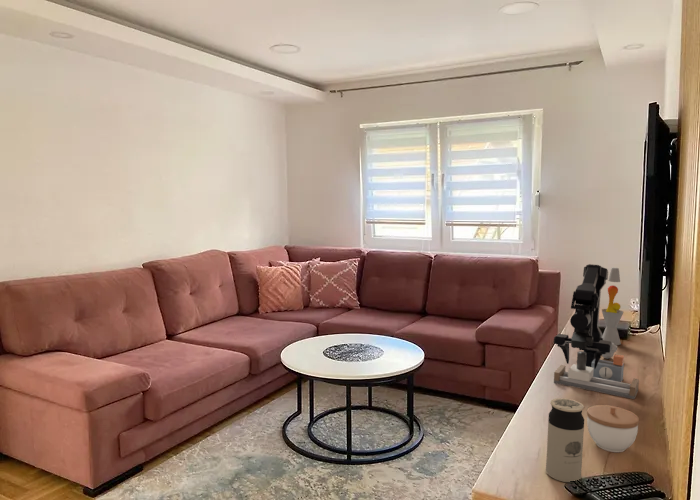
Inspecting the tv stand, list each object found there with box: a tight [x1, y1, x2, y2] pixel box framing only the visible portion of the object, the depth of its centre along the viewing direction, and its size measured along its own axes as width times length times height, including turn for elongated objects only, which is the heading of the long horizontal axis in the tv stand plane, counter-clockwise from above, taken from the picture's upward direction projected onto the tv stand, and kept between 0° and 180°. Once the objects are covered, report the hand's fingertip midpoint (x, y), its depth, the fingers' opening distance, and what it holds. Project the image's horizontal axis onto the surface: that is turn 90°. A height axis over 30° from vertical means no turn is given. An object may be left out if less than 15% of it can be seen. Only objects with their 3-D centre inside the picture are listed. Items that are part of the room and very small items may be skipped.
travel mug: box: [545, 397, 585, 483], centre depth 127 cm, size 8×8×18 cm
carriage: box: [567, 350, 594, 382], centre depth 189 cm, size 8×7×9 cm
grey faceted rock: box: [601, 343, 618, 360], centre depth 219 cm, size 6×7×7 cm
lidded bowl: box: [586, 404, 640, 453], centre depth 142 cm, size 13×13×11 cm
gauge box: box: [591, 359, 625, 382], centre depth 194 cm, size 6×10×6 cm, turn 55°
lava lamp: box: [601, 267, 624, 346], centre depth 241 cm, size 9×9×35 cm
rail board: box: [553, 364, 640, 400], centre depth 187 cm, size 10×26×4 cm, turn 55°
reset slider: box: [612, 353, 625, 366], centre depth 192 cm, size 3×3×3 cm
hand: (581, 365), depth 189 cm, fingers open, 9 cm apart
